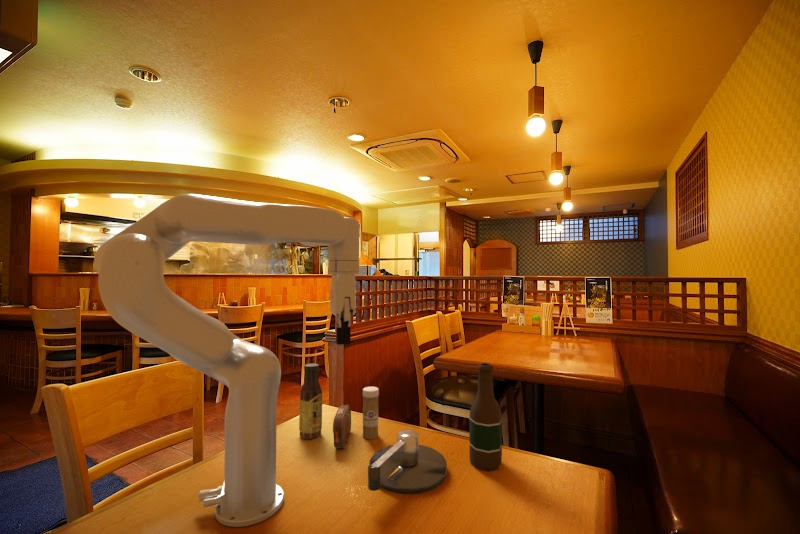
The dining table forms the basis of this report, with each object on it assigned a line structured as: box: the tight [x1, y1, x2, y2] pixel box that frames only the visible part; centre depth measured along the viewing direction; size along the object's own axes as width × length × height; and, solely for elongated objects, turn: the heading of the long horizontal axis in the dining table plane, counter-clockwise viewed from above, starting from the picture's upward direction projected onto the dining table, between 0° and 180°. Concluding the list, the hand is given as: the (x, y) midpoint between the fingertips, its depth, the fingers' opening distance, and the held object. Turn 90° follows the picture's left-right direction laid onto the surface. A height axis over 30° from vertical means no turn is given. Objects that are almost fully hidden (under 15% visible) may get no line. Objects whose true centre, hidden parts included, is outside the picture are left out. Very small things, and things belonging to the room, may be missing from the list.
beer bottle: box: [468, 362, 503, 472], centre depth 88 cm, size 8×8×24 cm
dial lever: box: [367, 429, 420, 492], centre depth 78 cm, size 19×5×6 cm, turn 152°
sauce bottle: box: [298, 363, 323, 440], centre depth 103 cm, size 6×6×20 cm
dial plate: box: [369, 444, 448, 495], centre depth 84 cm, size 18×18×2 cm
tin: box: [332, 404, 352, 449], centre depth 99 cm, size 15×3×8 cm, turn 179°
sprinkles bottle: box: [362, 386, 380, 440], centre depth 102 cm, size 5×5×13 cm
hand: (343, 343), depth 88 cm, fingers closed
